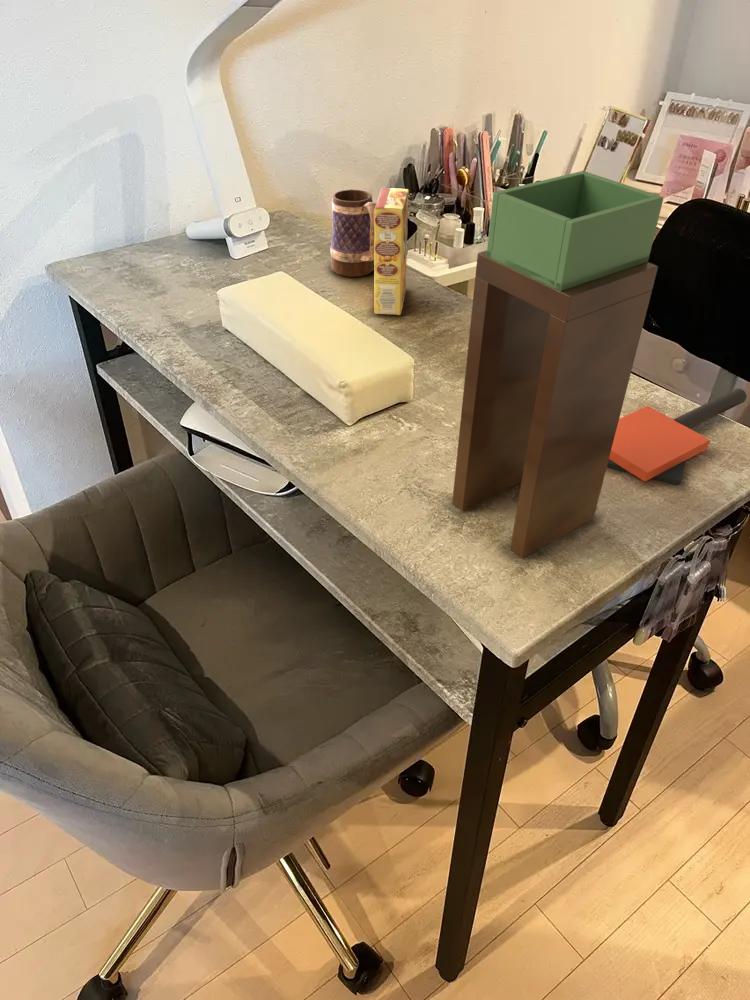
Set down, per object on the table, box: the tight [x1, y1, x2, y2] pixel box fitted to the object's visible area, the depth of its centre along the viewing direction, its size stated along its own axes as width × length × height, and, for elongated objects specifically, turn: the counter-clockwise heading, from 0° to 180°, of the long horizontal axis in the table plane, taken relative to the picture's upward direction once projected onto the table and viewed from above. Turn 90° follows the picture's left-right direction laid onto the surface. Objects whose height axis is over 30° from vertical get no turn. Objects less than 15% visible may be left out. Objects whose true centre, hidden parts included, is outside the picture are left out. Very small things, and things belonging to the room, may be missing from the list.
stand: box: [451, 250, 659, 559], centre depth 69 cm, size 10×10×26 cm
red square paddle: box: [609, 388, 747, 482], centre depth 88 cm, size 23×9×2 cm, turn 125°
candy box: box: [373, 187, 410, 316], centre depth 110 cm, size 9×4×15 cm, turn 174°
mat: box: [607, 459, 686, 486], centre depth 85 cm, size 10×9×1 cm
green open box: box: [486, 170, 664, 291], centre depth 59 cm, size 10×8×5 cm
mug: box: [330, 189, 377, 278], centre depth 119 cm, size 10×7×12 cm
